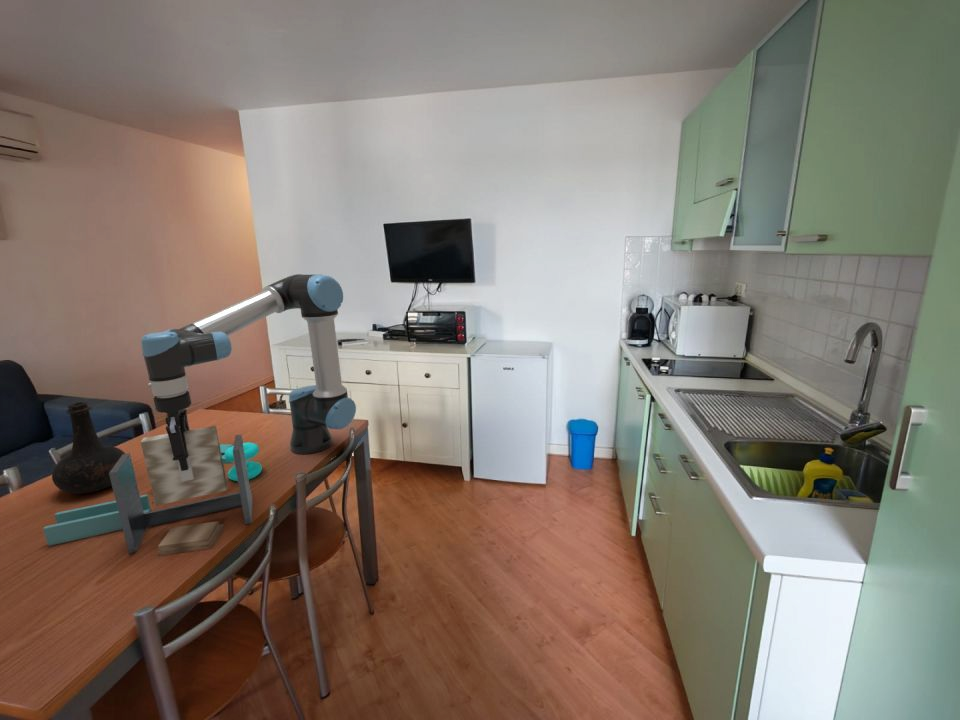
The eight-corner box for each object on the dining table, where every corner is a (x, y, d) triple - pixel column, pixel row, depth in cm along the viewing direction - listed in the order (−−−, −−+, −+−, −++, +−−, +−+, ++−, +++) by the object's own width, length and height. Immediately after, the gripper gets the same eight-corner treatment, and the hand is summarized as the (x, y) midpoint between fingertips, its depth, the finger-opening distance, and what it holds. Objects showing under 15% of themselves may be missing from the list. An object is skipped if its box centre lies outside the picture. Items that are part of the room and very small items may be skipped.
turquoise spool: (251, 438, 148) (263, 446, 141) (255, 464, 151) (267, 474, 144) (219, 448, 141) (230, 457, 134) (224, 475, 143) (235, 486, 137)
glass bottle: (42, 505, 127) (16, 417, 121) (81, 476, 144) (60, 397, 138) (112, 497, 131) (91, 411, 125) (142, 469, 148) (125, 392, 141)
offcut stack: (224, 529, 116) (222, 519, 115) (212, 549, 108) (210, 539, 107) (174, 535, 114) (172, 526, 113) (158, 557, 106) (156, 547, 105)
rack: (252, 501, 128) (241, 433, 123) (251, 523, 118) (239, 449, 112) (141, 526, 117) (123, 452, 111) (128, 553, 106) (108, 473, 101)
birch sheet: (227, 485, 121) (215, 425, 116) (226, 490, 118) (214, 429, 114) (158, 500, 114) (143, 437, 110) (155, 505, 112) (140, 442, 107)
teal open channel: (151, 509, 125) (147, 494, 124) (144, 524, 118) (140, 508, 117) (61, 528, 116) (56, 512, 115) (48, 546, 110) (43, 528, 108)
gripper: (160, 386, 114) (177, 466, 120) (145, 405, 100) (166, 495, 106) (193, 382, 117) (208, 460, 123) (183, 400, 103) (201, 487, 109)
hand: (189, 476), depth 115 cm, fingers closed on birch sheet, 3 cm apart
